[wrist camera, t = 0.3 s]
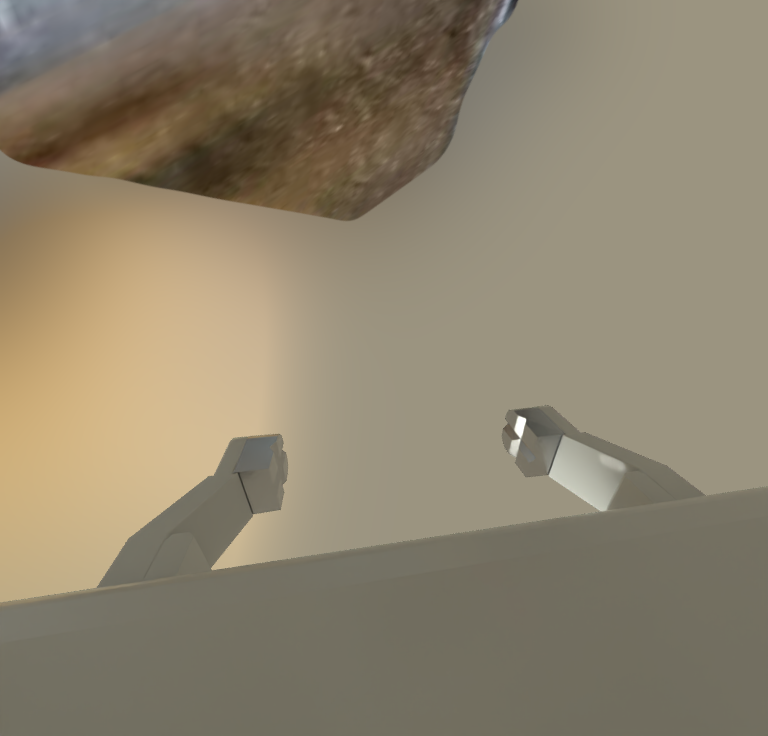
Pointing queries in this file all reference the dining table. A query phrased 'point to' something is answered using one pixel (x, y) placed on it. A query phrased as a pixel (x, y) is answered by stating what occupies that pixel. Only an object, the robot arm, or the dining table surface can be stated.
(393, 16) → the dining table surface
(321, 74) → the dining table surface
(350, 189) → the dining table surface
